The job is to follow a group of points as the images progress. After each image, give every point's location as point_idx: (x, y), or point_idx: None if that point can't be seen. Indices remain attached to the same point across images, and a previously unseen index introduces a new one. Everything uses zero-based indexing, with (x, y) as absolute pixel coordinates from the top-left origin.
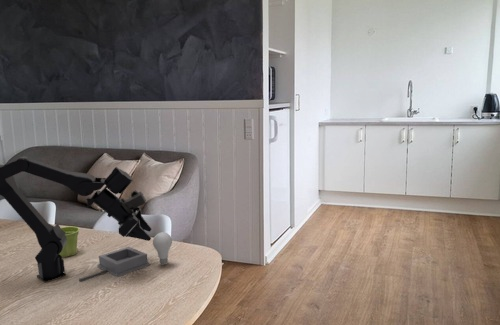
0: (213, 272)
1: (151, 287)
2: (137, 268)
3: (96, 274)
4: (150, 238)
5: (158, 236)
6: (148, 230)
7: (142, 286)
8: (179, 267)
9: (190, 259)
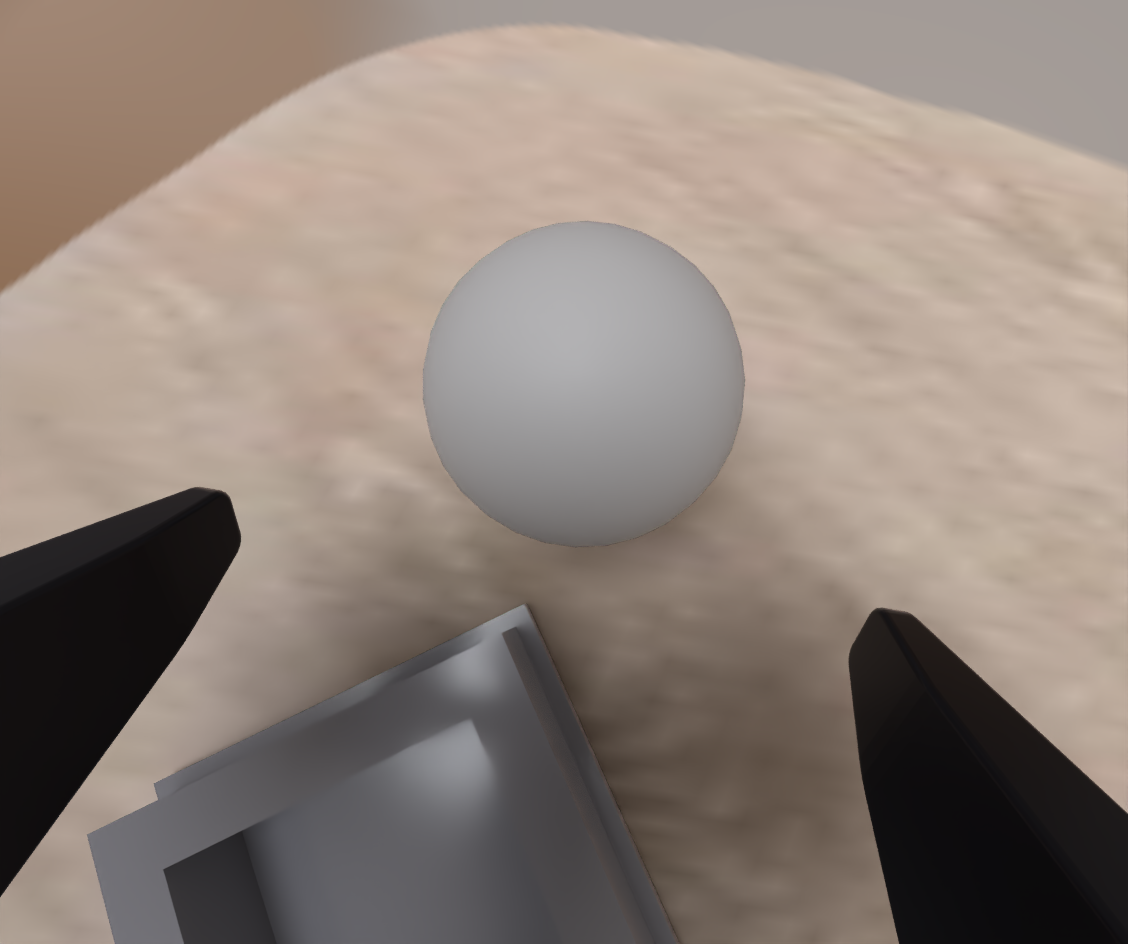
0: (923, 125)
1: (1088, 681)
2: (592, 751)
3: None
4: (909, 624)
5: (665, 420)
6: (218, 563)
7: None
8: None
9: None
